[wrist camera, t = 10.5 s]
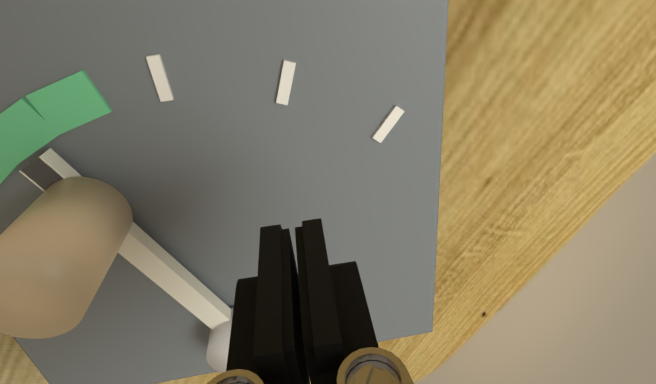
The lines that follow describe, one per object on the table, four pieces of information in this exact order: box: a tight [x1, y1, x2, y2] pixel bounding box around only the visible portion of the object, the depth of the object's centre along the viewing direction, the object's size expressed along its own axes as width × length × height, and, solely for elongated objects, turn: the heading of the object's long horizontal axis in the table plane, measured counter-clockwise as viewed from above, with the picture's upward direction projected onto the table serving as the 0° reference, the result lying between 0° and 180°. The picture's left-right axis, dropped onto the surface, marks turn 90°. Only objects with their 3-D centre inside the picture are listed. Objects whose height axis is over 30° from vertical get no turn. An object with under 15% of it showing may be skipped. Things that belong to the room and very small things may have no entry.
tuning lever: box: [0, 148, 233, 373], centre depth 17 cm, size 15×4×6 cm, turn 31°
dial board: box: [0, 0, 448, 384], centre depth 20 cm, size 24×22×2 cm
